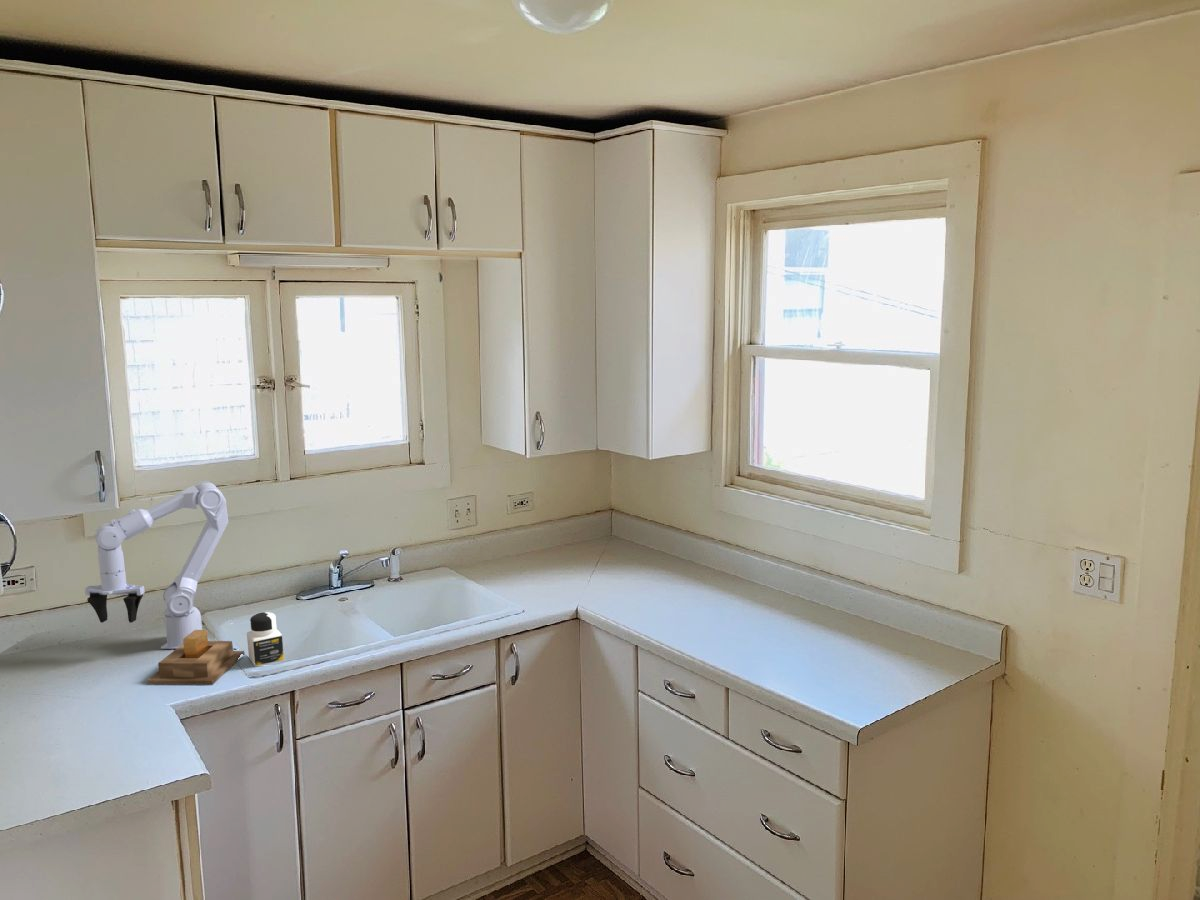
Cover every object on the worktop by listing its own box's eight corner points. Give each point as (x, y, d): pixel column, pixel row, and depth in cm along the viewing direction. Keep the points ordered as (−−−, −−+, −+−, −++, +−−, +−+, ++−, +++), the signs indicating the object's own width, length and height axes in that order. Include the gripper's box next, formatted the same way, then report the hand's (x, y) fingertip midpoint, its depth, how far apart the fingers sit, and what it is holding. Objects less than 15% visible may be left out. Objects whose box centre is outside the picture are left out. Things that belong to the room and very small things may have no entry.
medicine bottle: (255, 667, 228) (251, 622, 226) (248, 658, 234) (244, 613, 232) (284, 660, 232) (280, 616, 230) (277, 651, 238) (273, 607, 236)
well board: (184, 654, 237) (182, 637, 236) (244, 654, 236) (243, 638, 235) (147, 684, 219) (145, 666, 218) (212, 684, 219) (210, 666, 218)
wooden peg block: (198, 659, 231) (195, 629, 229) (209, 659, 231) (206, 629, 229) (186, 669, 225) (183, 638, 224) (198, 669, 225) (195, 638, 223)
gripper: (75, 575, 229) (81, 626, 231) (131, 575, 228) (137, 626, 231) (91, 566, 236) (97, 616, 238) (146, 566, 235) (151, 616, 238)
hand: (118, 621), depth 235 cm, fingers open, 7 cm apart
